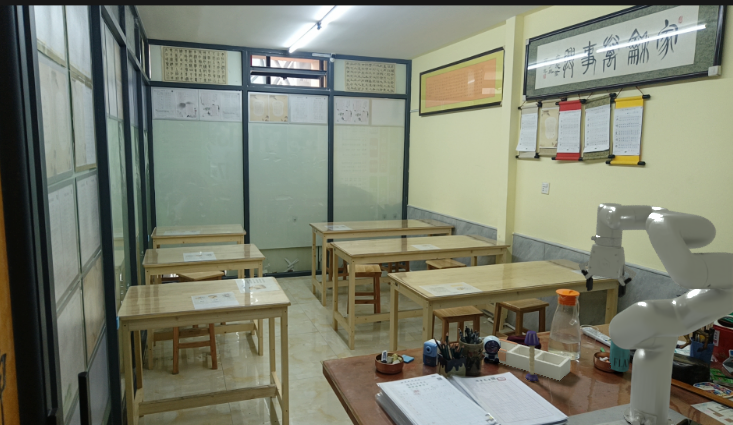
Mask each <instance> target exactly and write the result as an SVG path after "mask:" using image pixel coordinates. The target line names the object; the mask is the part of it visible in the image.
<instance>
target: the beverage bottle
mask: <svg viewBox="0 0 733 425" xmlns="http://www.w3.org/2000/svg"><path fill="white" fill-rule="evenodd" d="M608 356H609V360H608V361H609V362H610V363H611V364H610V365H611V368H610V369H611V370H613V371H616V372H621V373H624V372H628V371H629V369H630V364H631V360H630V359H631V349H623V348H620V347H618V346H617V345H615V344H614V343H613V341H612V340H611V339H610V348H609V355H608ZM609 362H608V363H609Z"/></svg>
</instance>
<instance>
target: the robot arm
mask: <svg viewBox="0 0 733 425" xmlns="http://www.w3.org/2000/svg"><path fill="white" fill-rule="evenodd" d="M623 231H646V233H647V235H648V239H649V241H650V244H651V246H652V248H653V249H654V251H655V253H656V254H657V256H658V258H659V260H660V262H661V264H662V265H663V266H664V270H666V272H667V274H668V275H669V278H670V279H671V281H672V282H674V283H675V285H677V286H679V287H681V288H682V289H685V290H688V291H687V292H684V293H683V294H681V295H680V296H677V297H674V298H663V299H645V300H640V301H637V302H635V303H633V304H631V305H630V306H628V307H626V308H625V309H624V310H622V311H620V312H619V313H616V315H615V316H613V318H612V319H611V320H610V323H609V325H608V335H609V338H610V341H611V340H612V341H613V343H614V344H615V345H617V346H618V347H620V348H623V349H630V350H635V352H634V354H633V359H632V368H631V381H630V382H631V383H630V397H629V398H630V399H629V400H630V401H629V407H626V408H625V409H624V410H623V414H622V415H624V417H625V419H627V420H628V421H630V422H631V423H632V424H633V425H671V424H674V423H675V422H674V420H673V419H672V418H671V417H670V416H669V414H670V413H669V412H670V400H671V399H670V398H671V388H672V387H671V386H672V385H671V384H672V374H673V363H674V357H675V351H676V348H677V346H678V342H679V337H681V336H686V335H689V334H691V333H693V332H695V331H697V330H699V329H701V328H703V327H706V326H708V325H710V324H712V323H713V322H715V321H718V320H720V319H722V318H725V317H726V316H729V315H730V314H732V313H733V252H726V251H725V252H723V251H721V252H718V251H717V252H716V251H714V252H692V251H691V250H692V249H701V248H705V247H708V246H709V245H710V244H711V243H712V242H713V241H714V239H715V238H716V235H717V230H716V226H715V225H714V223H713V222H712V221H711V220H710V219H708V218H706V217H705V216H702V215H698V214H693V213H686V212H679V211H674V210H669V209H668V208H666V207H660V206H654V205H647V204H646V205H645V204H639V205H638V204H637V205H636V204H635V205H634V204H631V205H630V204H629V205H626V204H624V205H622V204H620V203H615V202H614V203H611V202H605V203H604V202H602V203H600V204H598V206H597V212H596V227H595V235H593V236H590V240H591V241H593V242H594V244H592V245H591V248H590V253H589V257H588V258H589V259H588V260H587V261H585V262H581V263H579V264H578V267H579V269H580V272H581V274H582V275H583V276H584V278H585V279H586V280H585V288H586V292H591V291H592V290H594V278H593V276H595V277H599V278H600V277H601V278H606V279H607V278H608V279H611V280H612V279H613V280H617V281H618V282H619V283H620V284H619V285H618V293H617V296H618V298H619V299H620V298H623V297H624V296H625V295H626V291H627V284H629V283H631V282H632V281H633V280H634V278H635V277H636V276H637V272H636V271H634V270H633V269H631V268H630V267H628V266H626V256H625V250H624V246H622V244H623V243H622V242H623ZM586 266H587V269H586ZM626 273H627V274H628V275H629V276H628V277H627V278H626V277H624V276H625V274H626ZM624 417H623V418H624ZM625 419H624V420H625Z"/></svg>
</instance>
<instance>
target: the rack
mask: <svg viewBox="0 0 733 425" xmlns="http://www.w3.org/2000/svg"><path fill="white" fill-rule="evenodd" d="M498 339H499V341H500V342H501V348H500V349H499V351H498V357H499V362H500V363H503V364H502V365H504V364H506V365H505V366H507V365H509V366H508V367H510V366H512V367H511V368H514V367H516V368H515V369H517V368H520V369H519V370H521V369H523V370H522V371H524V370H526V371H525V372H527V371H529V370H530V369H529V366H530V365H529V361H530V360H529V357H530V356H529V353H530V352H529V348H530V347H529V346H527V345H522V344H519V343H517V342H514V341H510V340H507V339H502V338H498ZM534 349H535V352H534V354H535V356H534V358H535V361H534V362H535V365H534V367H535V369H534V371H535V373H537V374H540V375H539V376H541V375H543V376H542V377H544V376H546V377H545V378H547V377H549V378H548V379H551V378H553V379H552V380H554V379H556V380H555V381H557V380H559V381H558V382H561V381H562V380H563V379H564V378H565V377H566V376H567V375H568V374H569V373H570V372H571V361H572V360H571V357H568V356H565V355H561V354H556V353H553V352H549V351H545V350H541V349H538V348H534ZM500 363H499V364H500ZM537 374H536V375H537ZM564 376H565V377H564ZM563 377H564V378H563ZM562 378H563V379H562ZM561 379H562V380H561ZM560 380H561V381H560Z"/></svg>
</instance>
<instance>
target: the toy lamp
mask: <svg viewBox="0 0 733 425" xmlns="http://www.w3.org/2000/svg"><path fill="white" fill-rule="evenodd" d="M524 344H526V346H527V345H528V347H530V348H529V352H530V353H529V356H530V357H529V360H530V361H529V365H530V366H529V369H530V370H529V372H527V373H526V374H525V378H526V379H527V380H530V381H537V382H539V377H538V375H537V374H534V373H535V371H534V369H535V367H534V365H535V362H534V361H535V358H534V356H535V354H534V352H535V349H536V348H535V347H537V346H539V345H540V341H539V337H538V333H537V332H536V331H534V330H528V331H527V332H526V336H525V339H524ZM534 348H535V349H534ZM526 379H525V380H526ZM527 380H526V381H527ZM530 381H529V382H530Z"/></svg>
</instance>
